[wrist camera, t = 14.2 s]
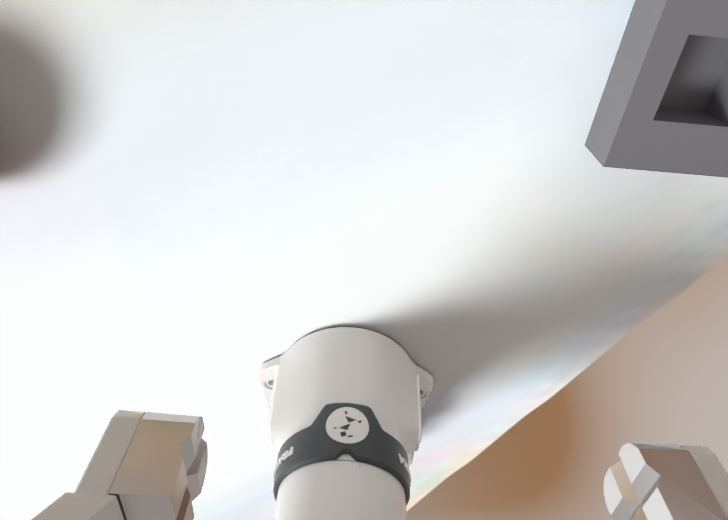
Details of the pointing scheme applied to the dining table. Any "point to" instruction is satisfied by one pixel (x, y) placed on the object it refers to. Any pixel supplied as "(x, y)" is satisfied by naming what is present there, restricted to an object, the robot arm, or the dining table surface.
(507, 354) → the dining table surface
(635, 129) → the power strip
